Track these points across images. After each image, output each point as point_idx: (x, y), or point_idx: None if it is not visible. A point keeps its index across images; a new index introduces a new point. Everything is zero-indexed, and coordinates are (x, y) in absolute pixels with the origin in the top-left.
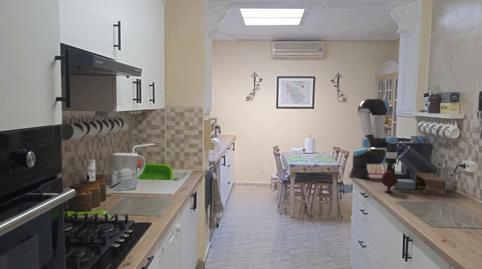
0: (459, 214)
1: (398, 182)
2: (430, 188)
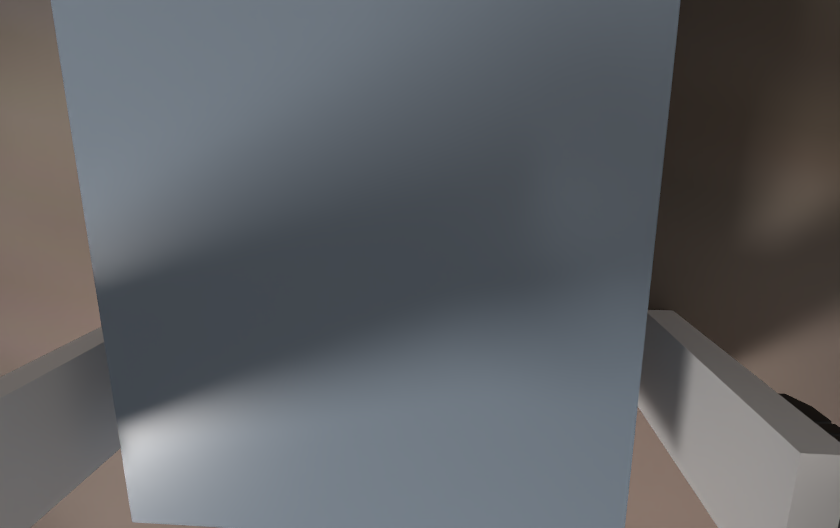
0: None
1: (643, 207)
2: None
